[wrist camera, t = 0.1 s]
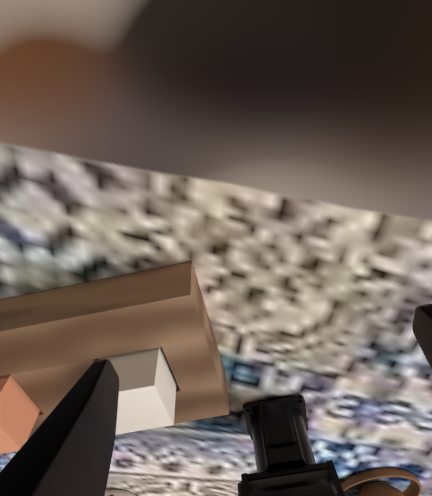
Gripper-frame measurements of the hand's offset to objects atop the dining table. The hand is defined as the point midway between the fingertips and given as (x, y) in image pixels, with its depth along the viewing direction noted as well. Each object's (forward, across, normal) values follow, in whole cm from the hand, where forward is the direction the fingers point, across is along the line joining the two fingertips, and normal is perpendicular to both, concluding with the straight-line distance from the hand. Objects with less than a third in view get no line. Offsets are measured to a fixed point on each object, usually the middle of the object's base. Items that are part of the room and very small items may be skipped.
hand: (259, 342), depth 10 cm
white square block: (+11, +10, +13) cm, 20 cm away
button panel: (+15, +16, +13) cm, 25 cm away
